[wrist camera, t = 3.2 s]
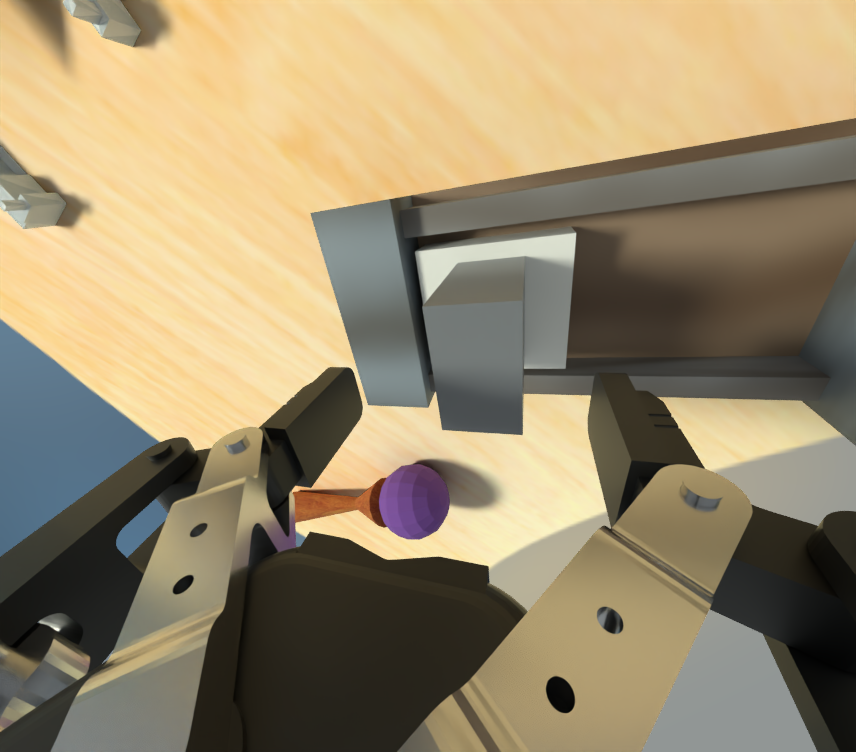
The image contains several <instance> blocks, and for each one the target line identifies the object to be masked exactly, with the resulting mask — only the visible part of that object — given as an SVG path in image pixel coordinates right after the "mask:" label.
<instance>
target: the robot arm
mask: <svg viewBox="0 0 856 752" xmlns="http://www.w3.org/2000/svg"><path fill="white" fill-rule="evenodd" d="M362 409H363V406H362V401H361V397H360V393H359V390H358V386H357V383H356V379H355V375H354V372H353V371H352V369H351V368H347V367H330V368H328V369H327V370H325V371H324V372H323V373H322V374H321V375H320V376H319V377H318V378H317V379H316V380H315V381H314V382H312V383H310V384H309V385H307V386H305V387H303V388H302V389H301V390H300V391H299V392H298V393H297V394H296V395H295V397H292V398H291V399H290V400H289V401H288V402H287V405H284V406H282V407H281V408H280V409H279V410H278V411H277V412H276V413H275V414H274V415H273V416H271V417H270V418H269V419H268V420H267V421H266V422H265V423H264V424H263V425H262V426H260V427H259V428H256V427H248V428H243V429H239V430H236V431H234V432H232V433H230V434H228V435H226V436H224V437H223V438H221V439H220V440H219V441H217V442H216V443H215V444H214V445H213V447H212V448H210V449H204V450H197V451H195V450H194V448H193V446H192V445H191V443H190V442H189V440H188V439H186V438H182V437H179V438H173V439H169V440H166V441H163V442H160V443H158V444H156V445H154V446H152V447H150V448H149V449H147V450H145V451H144V452H142V453H141V454H140V455H138V456H137V457H136V458H134V459H133V460H132V461H130V462H129V463H128V464H126V465H125V466H124V467H122V468H121V469H119V470H118V471H117V472H115V473H114V474H112V475H111V476H110V477H108V478H107V479H106V480H104V481H103V482H102V483H100V484H99V485H98V486H96V487H95V488H94V489H92V490H91V491H89V492H88V493H87V494H85V495H84V496H83V497H81V498H80V499H78V500H77V501H76V502H75V503H73V504H72V505H70V506H69V507H68V508H66V509H65V510H63V511H62V512H61V513H60V514H58V515H57V516H55V517H54V518H53V519H51V520H50V521H48V522H47V523H46V524H44V525H43V526H42V527H41V528H39V529H38V530H36V531H35V532H33V533H32V534H31V535H29V536H28V537H27V538H25V539H24V540H23V541H22V542H20V543H19V544H17V545H16V546H15V547H13V548H12V549H10V550H9V551H8V552H6V553H5V554H4V555H2V556H1V557H0V752H641V751H642V749H643V747H644V745H645V743H646V741H647V739H648V737H649V735H650V733H651V731H652V728H653V726H654V724H655V722H656V720H657V718H658V716H659V714H660V712H661V710H662V707H663V705H664V703H665V701H666V699H667V697H668V695H669V693H670V691H671V689H672V687H673V684H674V682H675V680H676V678H677V676H678V674H679V672H680V670H681V668H682V666H683V663H684V661H685V659H686V657H687V655H688V653H689V651H690V649H691V647H692V644H693V642H694V640H695V638H696V636H697V634H698V632H699V630H700V628H701V625H702V624H703V622H704V620H705V617H706V615H707V613H708V611H709V609H710V610H713V611H715V612H717V613H719V614H721V615H724V616H726V617H728V618H730V619H732V620H734V621H736V622H739V623H741V624H743V625H745V626H747V627H749V628H752V629H754V630H756V631H758V632H761V633H763V635H764V637H765V640H766V642H767V644H768V646H769V648H770V650H771V652H772V654H773V657H774V659H775V661H776V663H777V665H778V667H779V669H780V672H781V674H782V676H783V678H784V680H785V682H786V685H787V687H788V689H789V691H790V693H791V695H792V698H793V700H794V702H795V704H796V706H797V708H798V710H799V713H800V715H801V717H802V719H803V721H804V723H805V726H806V728H807V730H808V732H809V734H810V736H811V738H812V741H813V743H814V745H815V747H816V749H817V751H818V752H856V512H854V511H838V512H833V513H831V514H828V515H827V516H826V517H825V518H824V519H823V520H822V522H821V523H820V524H819V526H816V525H813V524H810V523H807V522H803V521H800V520H797V519H793V518H790V517H787V516H784V515H780V514H777V513H773V512H771V511H767V510H765V509H762V508H759V507H756V506H754V505H751V503H750V501H749V499H748V498H747V496H746V495H745V494H744V493H743V491H742V490H741V489H739V488H738V487H737V486H736V485H735V484H733V483H732V482H730V481H729V480H727V479H725V478H724V477H722V476H720V475H718V474H716V473H714V472H712V471H709V470H707V469H705V468H704V466H703V465H702V463H701V461H700V460H699V458H698V457H697V455H696V453H695V452H694V450H693V449H692V447H691V445H690V444H689V442H688V441H687V439H686V437H685V436H684V434H683V433H682V431H681V429H678V425H677V423H676V421H675V420H674V418H673V417H671V413H670V412H669V410H668V409H667V407H666V405H665V404H664V402H663V401H661V400H660V399H659V398H657V397H656V396H654V395H653V394H652V393H650V392H649V391H641V390H635V388H634V386H633V384H632V382H631V380H630V379H629V377H628V375H627V374H626V373H609V372H597V373H596V374H595V376H594V381H593V388H592V394H591V401H590V407H589V414H588V434H589V439H590V443H591V447H592V451H593V455H594V459H595V463H596V468H597V472H598V476H599V480H600V484H601V488H602V492H603V496H604V500H605V504H606V508H607V512H608V517H609V521H610V525H611V529H609V528H608V527H606V526H602V527H601V528H600V529H598V530H597V531H596V532H595V533H594V534H593V535H592V537H591V538H590V539H589V540H588V541H587V542H586V544H585V545H584V546H583V547H582V549H581V550H580V551H579V552H578V553H577V554H576V555H575V557H574V558H573V559H572V560H571V562H570V563H569V564H568V565H567V566H566V567H565V568H564V570H563V571H562V572H561V573H560V574H559V576H558V577H557V578H556V579H555V581H554V582H553V583H552V584H551V585H550V586H549V587H548V589H547V590H546V591H545V592H544V593H543V594H542V596H541V597H540V598H539V599H538V600H537V602H536V603H535V604H534V605H533V606H532V607H531V609H530V610H529V611H527V610H526V609H525V608H524V607H523V606H522V605H520V604H519V603H518V602H517V601H516V600H515V599H513V598H512V597H511V596H510V595H508V594H507V593H505V592H504V591H502V590H501V589H499V588H497V587H495V586H493V585H492V584H490V583H489V567H488V566H484V565H479V564H474V563H469V562H464V561H458V560H453V559H448V558H443V557H427V558H413V559H399V560H386V559H383V558H381V557H380V556H378V555H376V554H374V553H372V552H371V551H369V550H367V549H365V548H363V547H362V546H360V545H358V544H356V543H354V542H353V541H351V540H349V539H345V538H340V537H335V536H330V535H324V534H319V533H314V532H309V534H308V536H307V537H306V539H305V540H304V542H303V544H302V545H301V546H300V547H296V535H295V499H294V495H293V493H292V489H293V488H294V487H295V485H296V486H303V487H309V488H311V487H312V486H313V484H314V483H315V482H316V480H317V479H318V477H319V476H320V475H321V473H322V472H323V470H324V469H325V468H326V466H327V465H328V463H329V462H330V461H331V459H332V458H333V456H334V455H335V454H336V452H337V451H338V449H339V448H340V446H341V445H342V444H343V442H344V441H345V439H346V438H347V437H348V435H349V434H350V432H351V431H352V430H353V428H354V427H355V425H356V424H357V423H358V421H359V420H360V418H361V415H362ZM154 499H157V500H158V501H159V503H160V504H161V505H162V506H163V508H164V509H165V510H166V511H167V512H168V516H167V519H166V520H165V521H164V522H163V523H162V524H161V525H160V526H159V527H158V528H157V529H156V530H155V531H154V532H153V533H152V534H151V535H150V536H149V537H148V538H147V539H146V540H145V541H144V542H143V543H142V544H141V545H140V546H139V547H138V548H137V549H136V550H135V551H134V552H133V553H132V554H131V555H130V556H129V557H128V558H126V557H125V556H124V555H123V554H122V553H121V552H120V551H119V550H118V549H117V546H116V539H117V536H118V534H119V532H120V531H121V530H122V528H123V527H124V526H125V525H126V524H128V523H129V522H130V521H131V520H132V519H133V518H134V517H135V516H136V515H138V513H140V512H141V511H142V510H143V509H144V508H145V507H147V506H148V505H149V504H150V503H151V502H152V501H153V500H154ZM38 621H39V623H37V622H38ZM112 651H113V653H112V655H111V656H110V658H109V660H108V661H106V662H104V663H103V661H104V660H105V659H106V658H107V657H108V656H109V654H110V653H111V652H112ZM102 663H103V664H102Z"/></svg>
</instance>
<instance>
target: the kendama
mask: <svg viewBox="0 0 856 752" xmlns="http://www.w3.org/2000/svg"><path fill="white" fill-rule="evenodd" d="M293 495H294V499H295V523H296V522H301V521H306V520H310V519H315V518H320V517H325V516H330V515H334V514H339V513H344V512H349V511H354V510H359V511H360V512H362V513H363V514H364V515H365V516H367V517H368V518H369V519H371V520H372V521H373V522H374V523H376V524H377V525H378V526H381V527H384V528H385V527H388V528H389V529H390V530H391V531H392V532H393V533H395V534H396V535H398V536H400V537H403V538H406V539H422V538H424V537H426V536H429V535H430V534H432V533H434V532H436V531H437V530H438V529H439V527H440V526H441V525H442V523H443V521H444V520H445V518H446V516H447V513H448V510H449V503H450V499H449V492H448V489H447V486H446V484H445V482H444V481H443V480H442V478H441V477H440V476H439V474H438V473H437V472H436V471H434V470H433V469H431V468H429V467H426V466H424V465H421V464H415V465H406V466H401V467H400V468H399V469H397V470H396V471H395V472H393V473H392V474H391V475H390V476H388V477H387V478H381V479H380V480H379V481H377V482H376V483H375V484H374V485H373V486H371V487H370V488H369V489H368V490H367V491H365V492H364V493H363V494H362V495H361V496H359V497H350V496H340V495H330V494H319V493H309V492H299V491H298V492H293Z"/></svg>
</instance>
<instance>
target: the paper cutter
mask: <svg viewBox="0 0 856 752" xmlns="http://www.w3.org/2000/svg"><path fill="white" fill-rule="evenodd" d="M63 4H64V6H65V7H66V8H67V10H68V11H69V12H70V14H71V15H72V16H73V17H76V18H79V19H82V20H85V21H88V22H91V23H92V24H93V26H94V27H95V28H96V30H97V31H98V33H99V34H100V35H101V37H103V38H106V39H109V40H112V41H115V42H118V43H122V44H125V45H128V46H131V47H133V46H134V44H135V42H136V40H137V38H138V36H139V34H140V31H141V30H140V28H139V27H138V25H137V24H136V22H135V21H134V19H133V18H132V17H131V15H130V14H129V12H128V11H127V9H126V8H125V6H124V5H123V4H122V2H121V1H120V0H64V1H63ZM66 204H67V203H66V202H65V201H64V200H63V199H62V198H61V197H60V196H59V194H58V193H46V192H45V191H44V189H43V188H42V187H41V186H40V185H39V184H38V183H37V182H36V181H35V180H34V179H33V178H32V176H31V175H27V173H26V172H25V171H24V170H23V169H22V168H21V167H20V166H19V165H18V164H17V163H16V162H15V160H14V159H13V158H12V157H11V156H10V155H9V154H8V153H7V152H6V151H5V150H4V149H3V148H2V146H1V145H0V208H1V209H2V210H3V211H6V212H7V213H8V214H9V215H10V216H11V217H12V218H13V219H14V220H15V221H16V222H17V223H18V224H19V225H20V226H21V227H22V228H23V229H28V228H38V227H47V226H55V225H56V223H57V221H58V220H59V218H60V216H61V214H62V212H63V210H64V208H65V206H66Z"/></svg>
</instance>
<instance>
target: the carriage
mask: <svg viewBox="0 0 856 752" xmlns="http://www.w3.org/2000/svg"><path fill="white" fill-rule="evenodd" d="M575 242H576V232H575V231H574V230H573V228H572V227H571V226H570V227H562V228H554V229H546V230H538V231H530V232H521V233H513V234H505V235H497V236H489V237H481V238H472V239H464V240H456V241H448V242H440V243H432V244H426V245H424V246H423V247H421V248H420V249H418V250H417V251H415V256H416V262H417V269H418V275H419V281H420V287H421V293H422V300H423V306H422V309H423V315H424V321H425V327H426V333H427V339H428V345H429V351H430V357H431V363H432V370H433V376H434V382H435V388H436V394H437V400H438V406H439V412H440V418H441V424H442V430H452V431H468V432H484V433H500V434H516V435H523V395H524V369H565V368H566V356H567V343H568V330H569V318H570V305H571V293H572V280H573V268H574V255H575Z"/></svg>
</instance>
